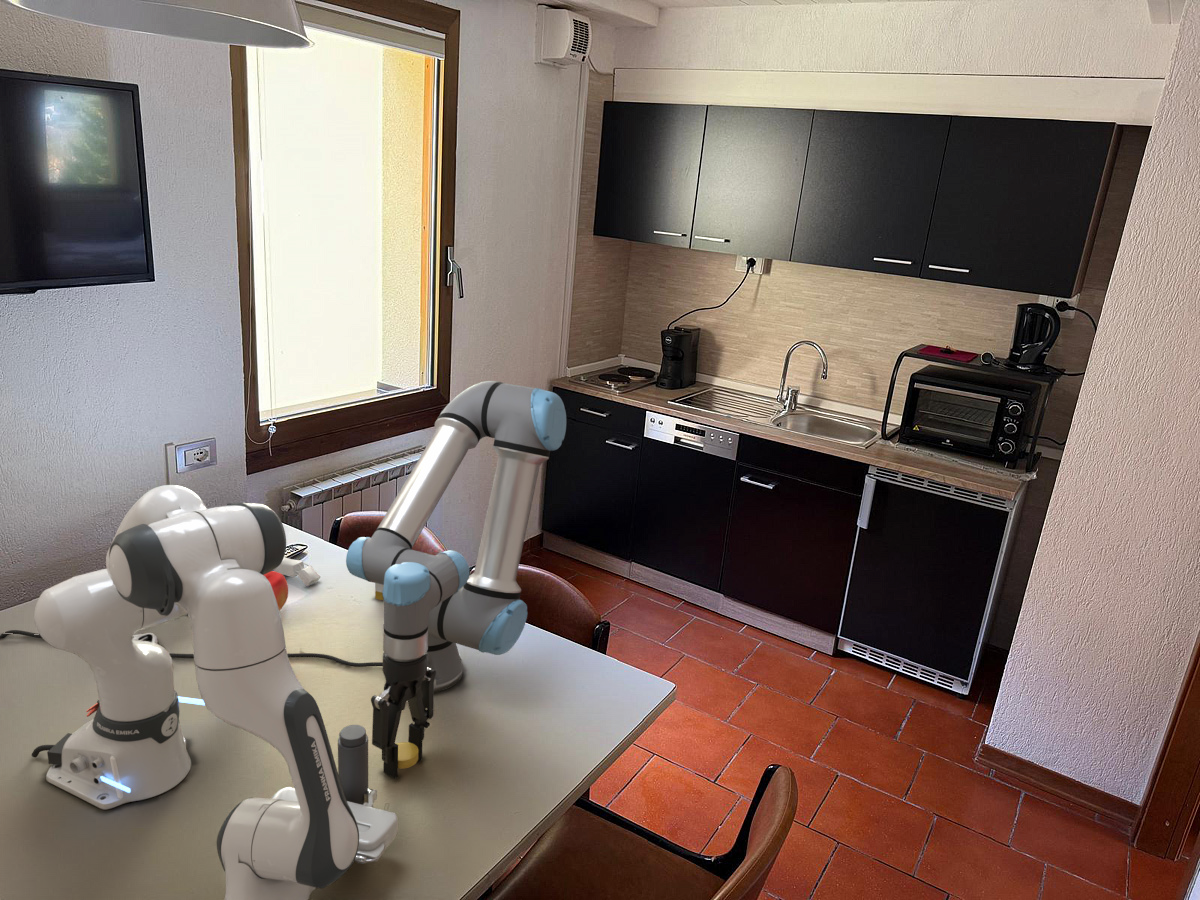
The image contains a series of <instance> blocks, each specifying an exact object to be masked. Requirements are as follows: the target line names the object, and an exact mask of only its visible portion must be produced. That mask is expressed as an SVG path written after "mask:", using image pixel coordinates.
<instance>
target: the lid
mask: <svg viewBox="0 0 1200 900" xmlns="http://www.w3.org/2000/svg"><path fill="white" fill-rule="evenodd" d="M396 744H397V745H398V769H408V768H411V767H413V766H415V765H416V764H417V763H418V762H419V761H418V752H419V750H418V747H417V746H416V745H415V744H413V743H409V741H401V742H397V743H396Z"/></svg>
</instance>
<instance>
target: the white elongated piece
mask: <svg viewBox="0 0 1200 900" xmlns="http://www.w3.org/2000/svg"><path fill="white" fill-rule="evenodd" d="M305 566H306V567H305ZM274 571H275V572H278V573H281V574H282V575H283V576H288V577H292V578H296V577H298V578H299V579H300V580H301V582H303V584H304V585H305V587H309V586H312V585H314V584H316V583H318V582H319V580H320V579H321V578H322V577H321V575H320V574H319V573H318V572H317V570H315V569H314V568H313V566H312V565H310V564H309V565H308V564H307V563H305V562H304V561H303V560H301V559H300V560H299V559H292V558H289V557H285V556H284V558H283V560H282V562H281V564H280V565H279V566H278V567H277V568H275V569H274Z"/></svg>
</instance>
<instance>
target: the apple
mask: <svg viewBox="0 0 1200 900" xmlns="http://www.w3.org/2000/svg"><path fill="white" fill-rule="evenodd" d="M264 576H265V577H266V578H267V579H268V581H269V582H270V584H271V587H272V589H273V592H274V595H275V598H276V601H277V605H278V608H279V612H280V611H281V610H282V609H283V607H284V606H285V605H286V603H287V600H288V597H289V584H288V581H287V579H286V577H285V575H282V574H281V573H278V572H275V571H270V572H268V573H266V574H264Z"/></svg>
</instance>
